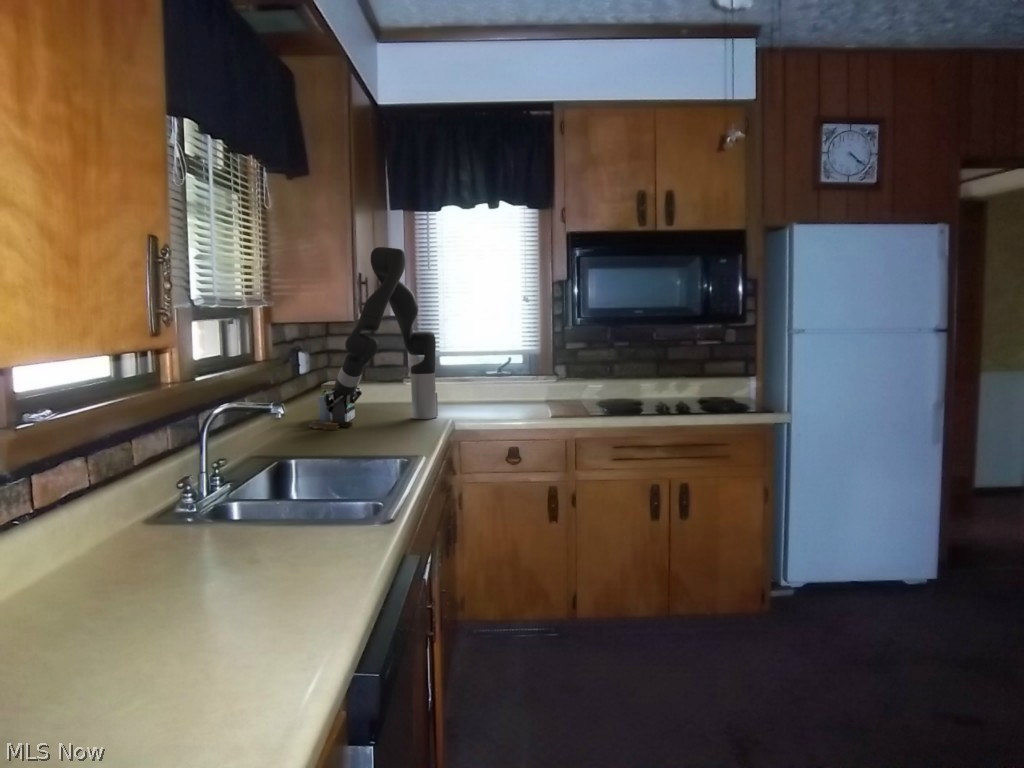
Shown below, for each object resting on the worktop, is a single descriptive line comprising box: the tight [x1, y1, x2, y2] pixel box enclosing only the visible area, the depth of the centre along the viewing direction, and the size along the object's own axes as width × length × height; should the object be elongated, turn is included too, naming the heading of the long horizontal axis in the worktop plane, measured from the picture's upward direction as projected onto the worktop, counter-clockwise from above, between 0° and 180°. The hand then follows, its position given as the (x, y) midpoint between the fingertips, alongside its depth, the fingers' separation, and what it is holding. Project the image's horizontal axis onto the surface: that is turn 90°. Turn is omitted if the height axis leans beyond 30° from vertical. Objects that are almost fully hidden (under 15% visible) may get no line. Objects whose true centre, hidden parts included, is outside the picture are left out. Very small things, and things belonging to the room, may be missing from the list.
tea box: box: [320, 380, 356, 422], centre depth 309 cm, size 15×10×15 cm
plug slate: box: [317, 395, 332, 423], centre depth 292 cm, size 4×4×11 cm
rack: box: [308, 420, 353, 431], centre depth 291 cm, size 8×14×2 cm, turn 55°
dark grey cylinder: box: [332, 399, 345, 423], centre depth 288 cm, size 5×5×11 cm
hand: (336, 410), depth 290 cm, fingers closed on dark grey cylinder, 4 cm apart
